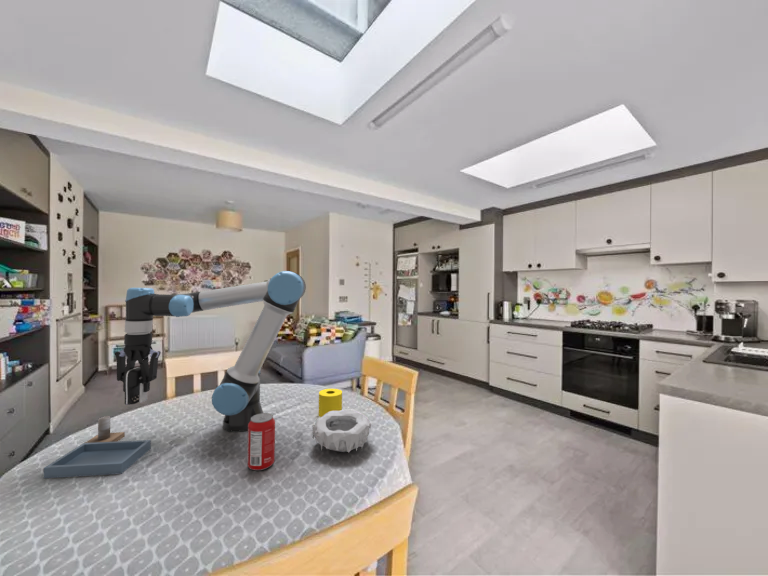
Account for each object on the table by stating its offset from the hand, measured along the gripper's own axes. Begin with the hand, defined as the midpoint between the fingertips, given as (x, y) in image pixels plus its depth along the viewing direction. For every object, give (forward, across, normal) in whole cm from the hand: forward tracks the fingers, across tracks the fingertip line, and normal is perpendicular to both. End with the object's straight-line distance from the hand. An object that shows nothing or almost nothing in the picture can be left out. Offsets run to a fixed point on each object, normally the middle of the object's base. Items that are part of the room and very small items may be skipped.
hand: (136, 400), depth 107 cm
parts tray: (+15, +3, +10) cm, 19 cm away
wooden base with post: (+16, +12, -3) cm, 20 cm away
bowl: (+14, -71, +5) cm, 72 cm away
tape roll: (+14, -64, -23) cm, 70 cm away
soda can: (+14, -46, +15) cm, 51 cm away
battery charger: (+1, 0, 0) cm, 1 cm away
